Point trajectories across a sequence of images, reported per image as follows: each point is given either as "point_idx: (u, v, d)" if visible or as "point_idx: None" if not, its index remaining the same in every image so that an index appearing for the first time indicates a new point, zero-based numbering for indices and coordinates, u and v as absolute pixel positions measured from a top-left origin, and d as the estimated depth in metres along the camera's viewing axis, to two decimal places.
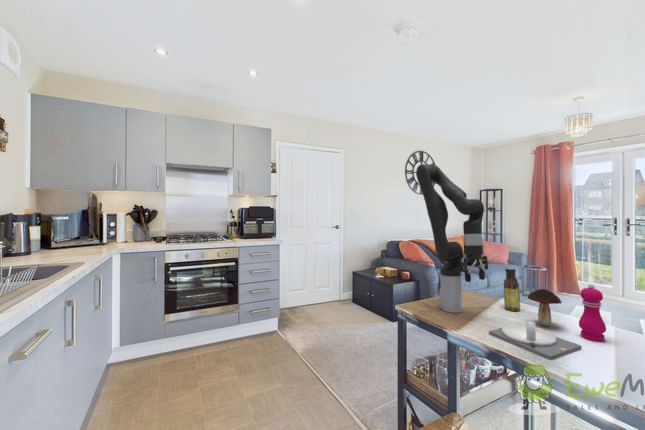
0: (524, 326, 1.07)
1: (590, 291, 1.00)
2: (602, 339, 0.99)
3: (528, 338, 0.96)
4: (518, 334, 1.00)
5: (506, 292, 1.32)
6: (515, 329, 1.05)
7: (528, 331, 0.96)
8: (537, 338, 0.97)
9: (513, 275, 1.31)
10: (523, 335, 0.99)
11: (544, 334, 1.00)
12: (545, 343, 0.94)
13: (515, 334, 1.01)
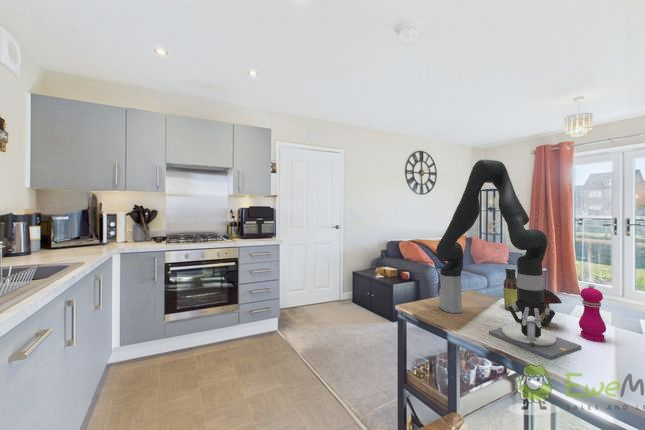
0: None
1: (590, 291, 1.00)
2: (602, 339, 0.99)
3: (528, 338, 0.96)
4: (518, 334, 1.00)
5: (506, 292, 1.32)
6: (515, 329, 1.05)
7: (528, 331, 0.96)
8: (537, 338, 0.97)
9: (513, 275, 1.31)
10: (523, 335, 0.99)
11: (544, 334, 1.00)
12: (545, 343, 0.94)
13: (515, 334, 1.01)
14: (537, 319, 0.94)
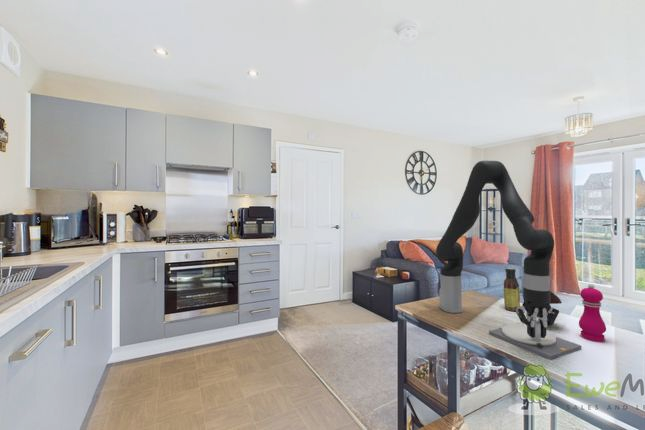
0: (520, 326, 1.07)
1: (590, 291, 1.00)
2: (602, 339, 0.99)
3: (534, 339, 0.95)
4: (521, 335, 0.99)
5: (506, 292, 1.32)
6: (515, 330, 1.04)
7: None
8: (540, 338, 0.97)
9: (513, 275, 1.31)
10: (526, 336, 0.99)
11: None
12: (550, 343, 0.94)
13: (518, 335, 0.99)
14: (545, 319, 0.94)
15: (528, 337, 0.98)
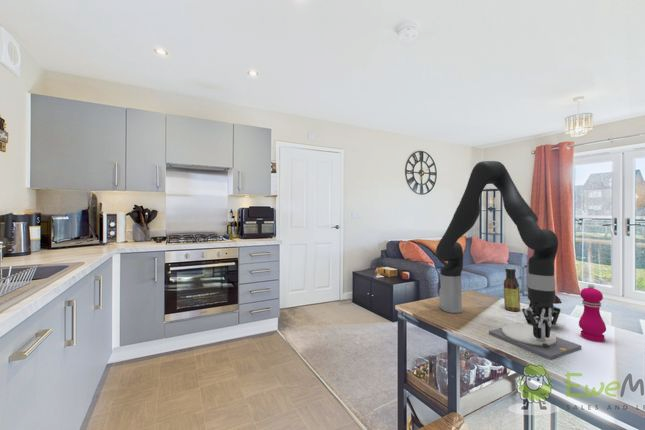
0: (516, 325, 1.08)
1: (590, 291, 1.00)
2: (602, 339, 0.99)
3: (540, 339, 0.94)
4: (525, 336, 0.98)
5: (506, 292, 1.32)
6: (515, 331, 1.03)
7: None
8: None
9: (513, 275, 1.31)
10: (529, 336, 0.98)
11: None
12: (553, 342, 0.95)
13: (522, 336, 0.98)
14: (550, 319, 0.94)
15: (532, 338, 0.97)
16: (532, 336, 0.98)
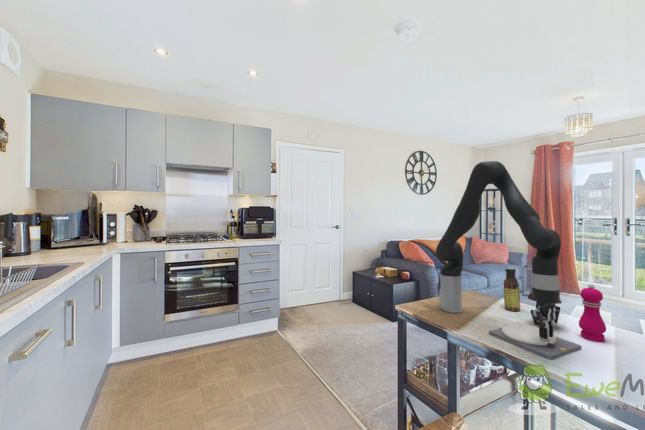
0: (513, 326, 1.08)
1: (590, 291, 1.00)
2: (602, 339, 0.99)
3: (544, 339, 0.94)
4: (528, 337, 0.98)
5: (506, 292, 1.32)
6: (516, 331, 1.02)
7: None
8: None
9: (513, 275, 1.31)
10: (532, 337, 0.98)
11: (537, 330, 1.03)
12: (555, 340, 0.96)
13: (526, 337, 0.97)
14: (554, 318, 0.94)
15: (535, 338, 0.97)
16: (534, 336, 0.98)
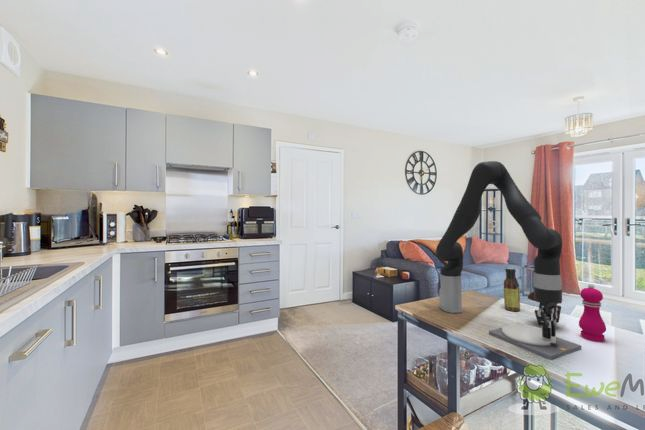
0: (512, 326, 1.07)
1: (590, 291, 1.00)
2: (602, 339, 0.99)
3: (547, 339, 0.94)
4: (531, 337, 0.97)
5: (506, 292, 1.32)
6: (517, 332, 1.02)
7: None
8: None
9: (513, 275, 1.31)
10: (534, 337, 0.98)
11: (535, 329, 1.04)
12: (555, 339, 0.96)
13: (529, 338, 0.97)
14: (556, 318, 0.94)
15: (537, 338, 0.97)
16: (536, 336, 0.98)
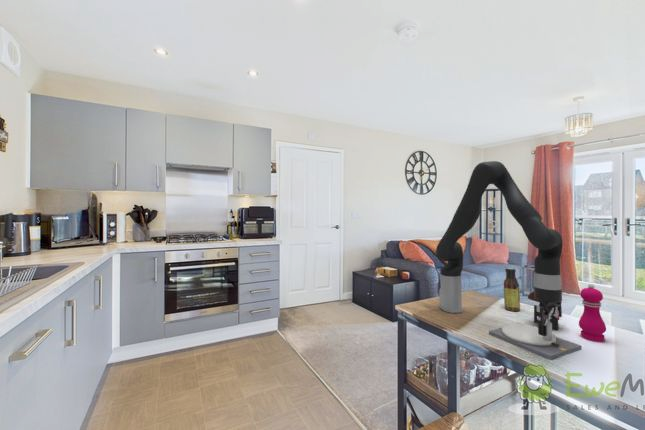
0: (511, 326, 1.07)
1: (590, 291, 1.00)
2: (602, 339, 0.99)
3: (548, 339, 0.95)
4: (531, 337, 0.97)
5: (506, 292, 1.32)
6: (517, 332, 1.02)
7: (548, 332, 0.95)
8: None
9: (513, 275, 1.31)
10: (535, 337, 0.98)
11: (534, 329, 1.04)
12: (555, 339, 0.97)
13: (530, 338, 0.97)
14: (558, 314, 0.96)
15: (538, 338, 0.97)
16: (536, 336, 0.98)
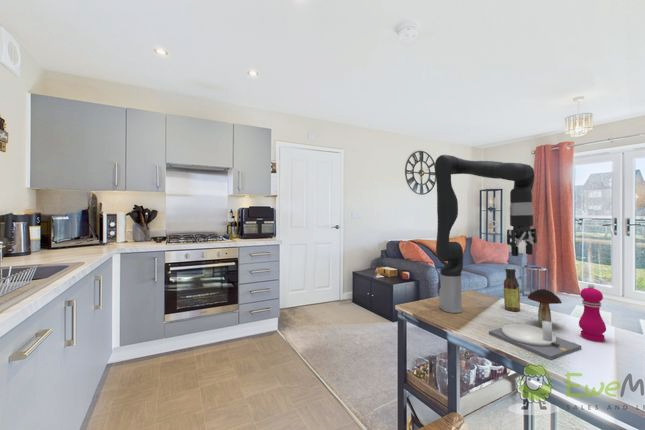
0: (511, 326, 1.07)
1: (590, 291, 1.00)
2: (602, 339, 0.99)
3: (548, 339, 0.95)
4: (531, 337, 0.97)
5: (506, 292, 1.32)
6: (517, 332, 1.02)
7: (548, 332, 0.95)
8: None
9: (513, 275, 1.31)
10: (535, 337, 0.98)
11: (534, 329, 1.04)
12: (555, 339, 0.97)
13: (530, 338, 0.97)
14: (531, 239, 1.08)
15: (538, 338, 0.97)
16: (536, 336, 0.98)
